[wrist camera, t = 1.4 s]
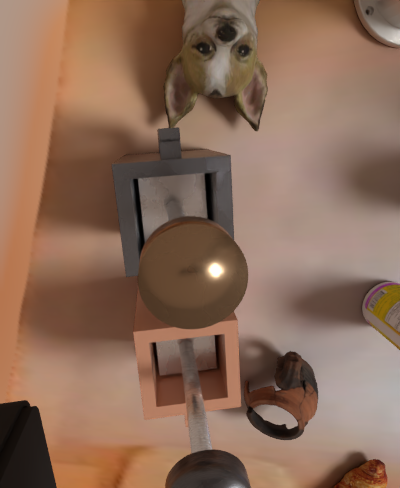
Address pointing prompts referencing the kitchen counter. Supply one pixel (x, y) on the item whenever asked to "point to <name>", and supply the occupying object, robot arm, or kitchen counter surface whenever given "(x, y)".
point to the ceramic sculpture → (217, 60)
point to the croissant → (365, 476)
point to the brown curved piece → (286, 397)
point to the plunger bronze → (186, 255)
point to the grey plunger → (198, 419)
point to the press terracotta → (171, 386)
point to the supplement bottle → (384, 310)
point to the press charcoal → (168, 164)
